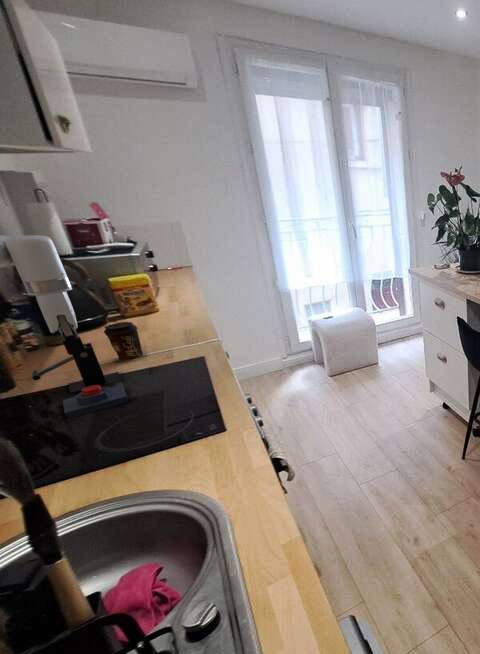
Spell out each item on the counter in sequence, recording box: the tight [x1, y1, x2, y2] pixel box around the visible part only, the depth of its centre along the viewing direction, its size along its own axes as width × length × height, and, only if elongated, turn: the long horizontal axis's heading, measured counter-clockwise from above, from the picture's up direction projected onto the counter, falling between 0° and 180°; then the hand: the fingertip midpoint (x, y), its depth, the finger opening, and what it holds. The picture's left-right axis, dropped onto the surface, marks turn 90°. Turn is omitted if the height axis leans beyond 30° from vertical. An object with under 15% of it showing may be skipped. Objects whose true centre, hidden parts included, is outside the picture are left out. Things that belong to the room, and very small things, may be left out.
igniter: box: [62, 384, 130, 419], centre depth 114 cm, size 12×10×4 cm
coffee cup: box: [103, 321, 144, 362], centre depth 142 cm, size 9×8×13 cm
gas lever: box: [31, 346, 86, 381], centre depth 119 cm, size 13×5×2 cm, turn 140°
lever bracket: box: [68, 342, 123, 394], centre depth 123 cm, size 11×9×13 cm
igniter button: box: [80, 385, 102, 396], centre depth 113 cm, size 4×4×2 cm
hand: (77, 352), depth 109 cm, fingers closed
